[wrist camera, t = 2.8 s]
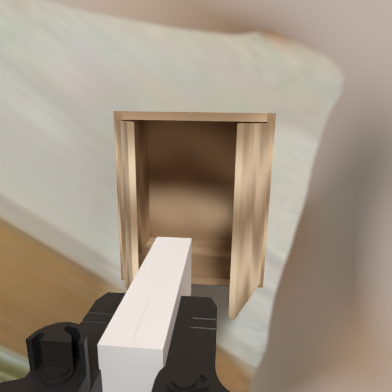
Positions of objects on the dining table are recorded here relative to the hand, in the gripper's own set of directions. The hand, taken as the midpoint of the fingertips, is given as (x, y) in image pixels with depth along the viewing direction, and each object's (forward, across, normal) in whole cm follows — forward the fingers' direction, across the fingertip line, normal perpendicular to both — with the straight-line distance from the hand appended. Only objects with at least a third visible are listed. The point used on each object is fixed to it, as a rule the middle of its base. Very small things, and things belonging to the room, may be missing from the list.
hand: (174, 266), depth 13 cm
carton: (+20, 0, 0) cm, 20 cm away
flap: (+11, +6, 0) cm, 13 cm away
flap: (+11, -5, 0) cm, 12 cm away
